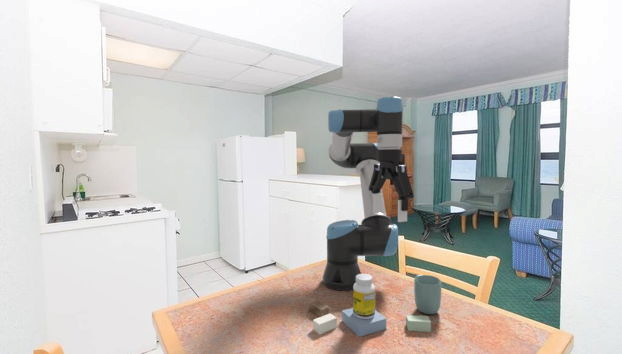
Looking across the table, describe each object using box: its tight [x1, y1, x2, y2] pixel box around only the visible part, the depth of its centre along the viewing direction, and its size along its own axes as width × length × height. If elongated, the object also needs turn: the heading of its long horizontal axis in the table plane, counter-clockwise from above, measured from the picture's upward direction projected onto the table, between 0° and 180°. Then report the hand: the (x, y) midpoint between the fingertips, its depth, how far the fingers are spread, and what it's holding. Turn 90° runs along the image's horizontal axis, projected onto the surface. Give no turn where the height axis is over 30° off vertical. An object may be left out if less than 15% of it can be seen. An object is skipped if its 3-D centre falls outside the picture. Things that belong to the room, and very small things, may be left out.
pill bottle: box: [352, 273, 376, 319], centre depth 85 cm, size 6×6×11 cm
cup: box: [413, 274, 442, 315], centre depth 92 cm, size 8×8×10 cm
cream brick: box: [312, 312, 338, 335], centre depth 84 cm, size 6×3×3 cm, turn 123°
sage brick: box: [405, 314, 432, 333], centre depth 84 cm, size 6×3×3 cm, turn 84°
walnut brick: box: [308, 299, 330, 318], centre depth 92 cm, size 6×3×3 cm, turn 42°
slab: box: [341, 307, 387, 338], centre depth 86 cm, size 9×9×3 cm
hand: (388, 217), depth 94 cm, fingers open, 13 cm apart
